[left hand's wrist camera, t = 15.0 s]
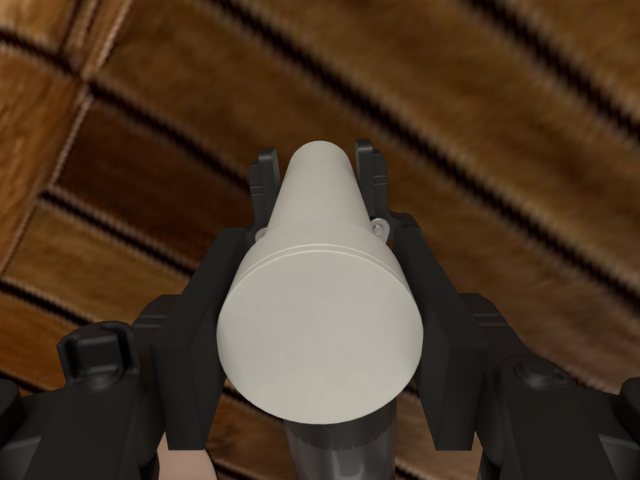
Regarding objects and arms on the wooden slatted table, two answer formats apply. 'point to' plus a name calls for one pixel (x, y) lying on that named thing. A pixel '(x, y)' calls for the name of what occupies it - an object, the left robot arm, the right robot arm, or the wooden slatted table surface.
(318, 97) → the wooden slatted table surface
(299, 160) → the off-white cylindrical rod
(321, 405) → the lid
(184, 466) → the anatomical model
